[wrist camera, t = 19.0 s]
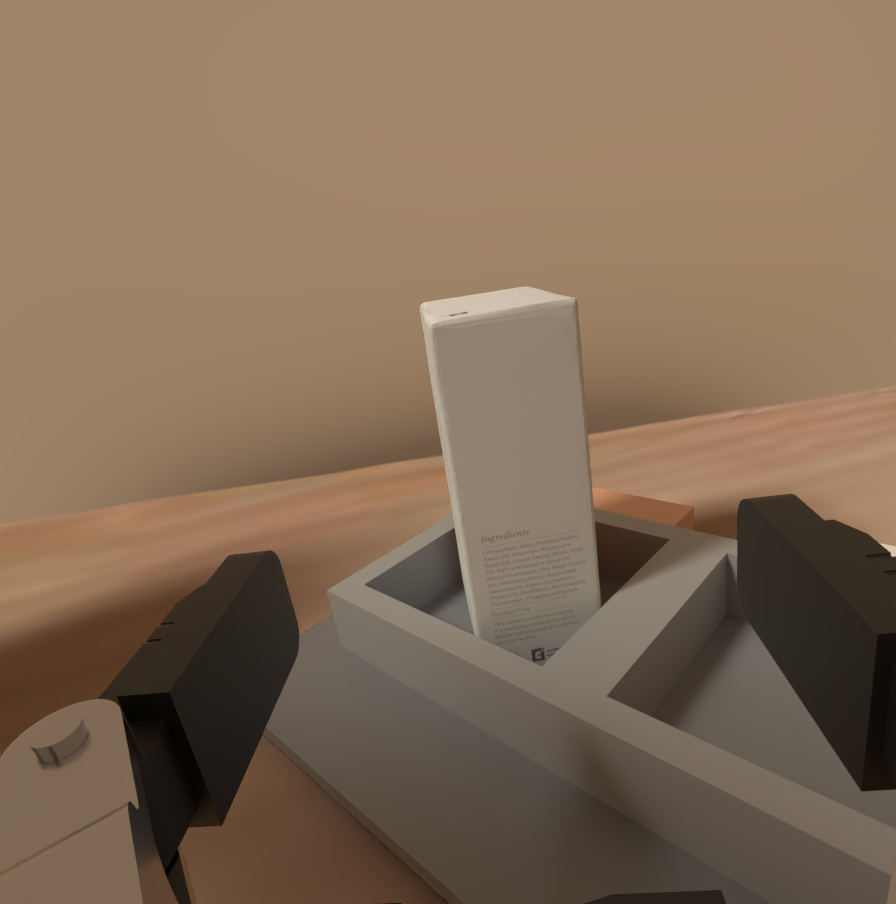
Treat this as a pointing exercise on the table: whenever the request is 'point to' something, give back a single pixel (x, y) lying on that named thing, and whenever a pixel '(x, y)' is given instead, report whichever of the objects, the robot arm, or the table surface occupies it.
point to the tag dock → (581, 734)
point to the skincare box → (517, 463)
